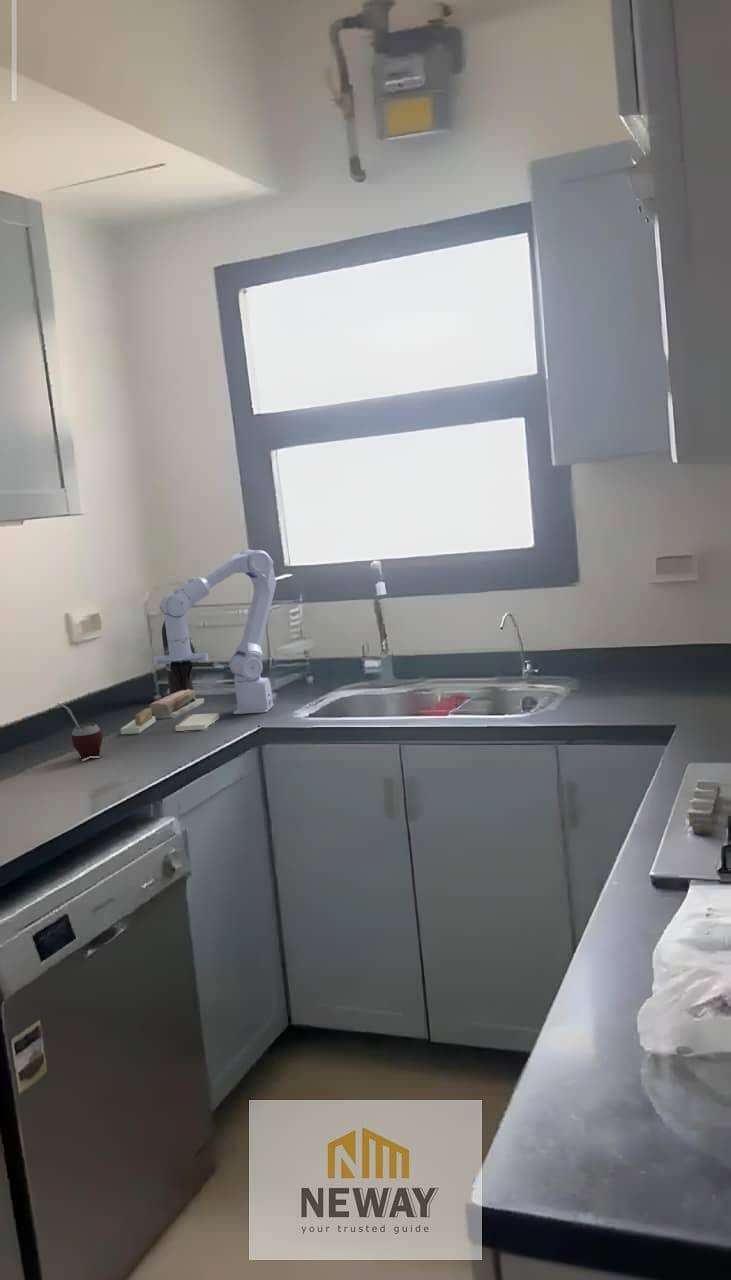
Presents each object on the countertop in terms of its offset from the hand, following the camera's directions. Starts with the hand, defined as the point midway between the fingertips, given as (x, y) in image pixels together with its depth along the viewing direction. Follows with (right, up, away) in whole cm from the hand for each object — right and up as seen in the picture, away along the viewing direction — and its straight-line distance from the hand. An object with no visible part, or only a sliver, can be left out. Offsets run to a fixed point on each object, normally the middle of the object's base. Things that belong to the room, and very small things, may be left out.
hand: (185, 689), depth 282 cm
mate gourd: (-20, -16, -24) cm, 34 cm away
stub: (-13, -10, +2) cm, 17 cm away
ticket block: (+4, -9, -1) cm, 10 cm away
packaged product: (-6, -8, +20) cm, 22 cm away
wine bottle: (-7, -4, +37) cm, 38 cm away
